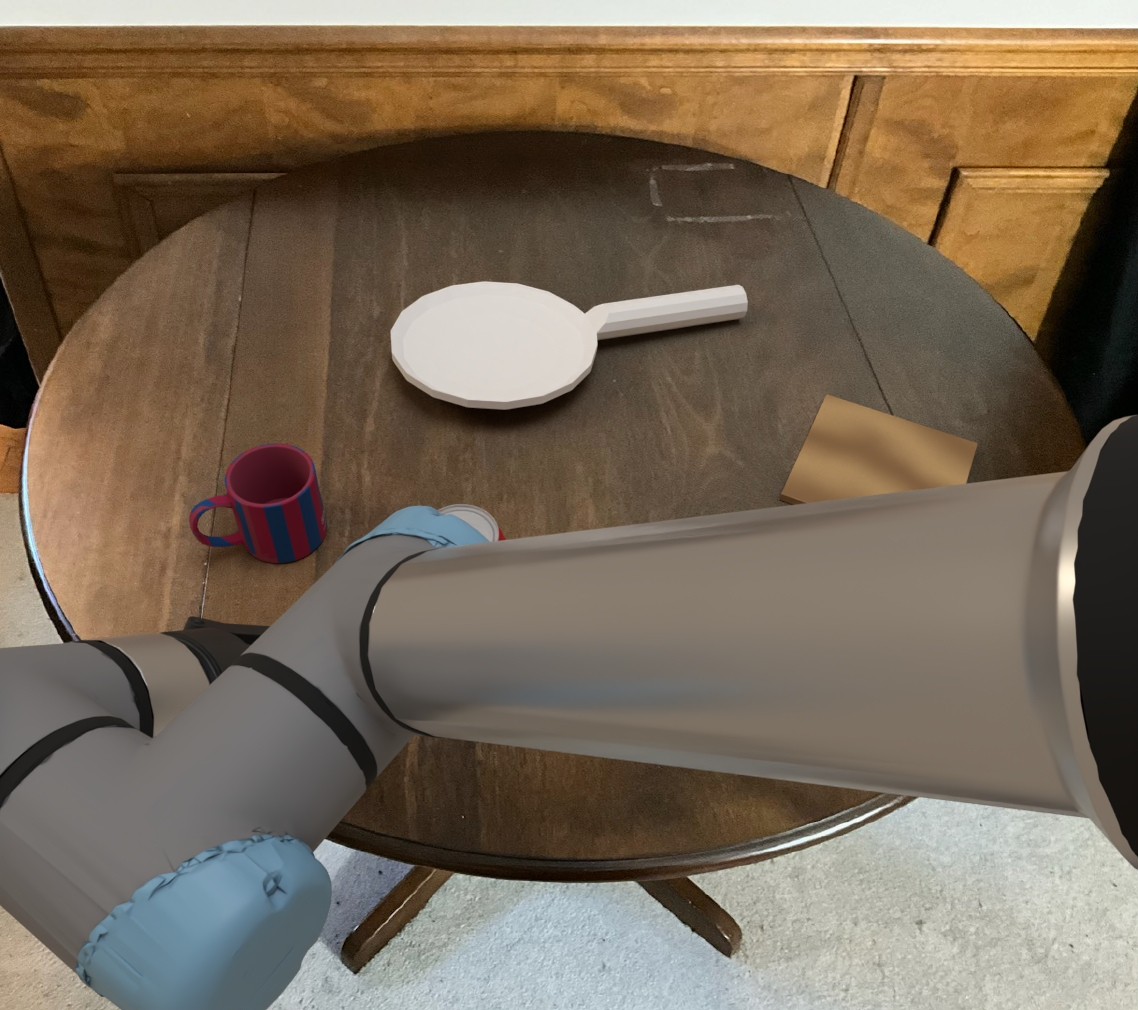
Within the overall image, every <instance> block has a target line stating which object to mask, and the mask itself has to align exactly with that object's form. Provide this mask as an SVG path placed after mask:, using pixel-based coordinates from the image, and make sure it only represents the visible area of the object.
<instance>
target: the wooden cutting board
mask: <svg viewBox="0 0 1138 1010" xmlns="http://www.w3.org/2000/svg"><path fill="white" fill-rule="evenodd" d="M978 445H979V443H978V442H975V441H972V440H969V439H966V438H963V437H960V436H957V435H954V434H951V433H947V432H945V431H941V430H939V429H935V428H932V427H928V426H926V425H924V424H920V423H917V422H914V421H911V420H908V419H905V418H901V417H899V416H895V415H892V414H889V413H886V412H883V411H880V410H877V409H875V408H871V407H867V406H864V405H862V404H858V403H855V402H853V401H849V400H846V399H843V398H840V397H837V396H833V395H831V394H827V393H826V394H825V396H824V398H823V400H822V402H821V405H820V407H819V409H818V412H817V413H816V416H815V418H814V420H813V423H812V424H811V426H810V429H809V431H808V434H807V436H806V438H805V440H804V442H803V444H802V447H801V449H800V451H799V454H798V456H797V457H796V460H795V461H794V464H793V466H792V469H791V470H790V473H789V475H788V478H787V480H786V481H785V484H784V486H783V488H782V491H781V493H780V496H779V500H780V501H783V502H785V503H788V504H789V505H796V504H805V503H813V502H821V501H829V500H837V499H845V498H854V497H862V496H870V495H878V494H886V493H895V492H903V491H911V490H919V489H927V488H935V487H944V486H952V485H960V484H968V479H969V475H970V472H971V469H972V465H973V462H974V458H975V456H976V452H977V449H978Z"/></svg>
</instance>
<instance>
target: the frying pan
mask: <svg viewBox="0 0 1138 1010" xmlns="http://www.w3.org/2000/svg"><path fill="white" fill-rule="evenodd" d="M748 304H749V302H748V297H747V292H746V290H745V289H744V287H743V286H741V285H740V284H735V285H734V284H733V285H727V286H720V287H719V286H718V287H712V288H705V289H698V290H691V291H690V290H689V291H684V292H677V293H670V294H669V293H668V294H662V295H656V296H655V295H654V296H648V297H641V298H634V299H625V300H620V301H613V302H606V303H601V304H598V305H594V306H593V307H591V308H590V309H589V310H587V312H585V313H584V312H583V311H582V310H581V309H580V308H578V307H577V306H576V305H575V304H572V303H570V302H569V301H567V300H566V299H564V298H561V297H560V296H557V295H556V294H554V293H552V292H550V291H548V290H545V289H540V288H536V287H534V286H533V287H532V286H529V285H525V284H521V283H516V282H500V281H486V280H485V281H476V282H469V283H461V284H452V285H449V286H446V287H444V288H441V289H438V290H435V291H433V292H430V293H427V294H424V295H422V296H421V297H419V298H418V299H416V300H415V301H414V302H412V303H411V304H410V305H408V306H406V308H404V309H403V310H402V311H401V312H400V313H399V315H398V318H396V321H395V322H394V324H393V326H392V328H391V329H390V344H391V345H390V346H391V347H390V348H391V360H392V362H393V363H394V365H395V366H396V368H397V369H398V370H399V372H400V373H401V374H402V376H403V378H404V379H405V380H406V381H407V382H408V383H410V384H411V385H413V386H415V387H416V388H417V389H419V390H421V391H422V392H424V393H425V394H427V395H428V396H430V397H432V398H434V399H438V400H440V401H441V400H442V401H444V402H448V403H452V404H455V405H457V406H458V405H459V406H462V407H465V408H471V409H472V408H474V409H489V410H511V409H517V408H523V407H530V406H536V405H542V404H544V403H547V402H549V401H552V400H554V399H556V398H558V397H560V396H562V395H564V394H566V393H569V392H571V391H573V390H574V389H575V388H576V387H577V385H579V384H580V383H581V382H582V381H583V380H584V379H585V378H586V377H587V376H588V375H589V374H590V373H591V372H592V368H593V365H594V361H595V360H596V359H595V358H596V355H597V351H598V341H601V340H609V339H614V338H621V337H622V338H623V337H627V336H636V335H641V334H647V333H655V332H660V331H661V332H662V331H667V330H668V331H669V330H674V329H675V330H676V329H682V328H687V327H694V326H695V327H696V326H700V325H708V324H713V323H722V322H727V321H728V322H729V321H733V320H734V321H735V320H741V319H744V318H746V315H747V313H748Z"/></svg>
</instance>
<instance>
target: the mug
mask: <svg viewBox="0 0 1138 1010" xmlns="http://www.w3.org/2000/svg"><path fill="white" fill-rule="evenodd" d="M224 486H225V489H226V494H222V495H217V496H211V497H209V498H206V499H204V500H202V501H199V502H198V503H197V504H195V505H194V506H193V508H192V509H191V511H190V513H189V517H188V521H189V528H190V531H191V533H192V535H193V536H194V537H195V539H196V540H197V541H198V542H199V543H201V545H203V546H206V547H211V548H228V547H233V546H234V547H236V546H240V545H243V547H244V548H245V549H246V551H247V552H248V553H249V554H250V555H251V556H252V557H254V558H255V559H257V560H260V561H262V562H266V563H270V564H288V563H292V562H295V561H299V560H302V559H304V558H306V557H308V556H309V555H310V554H312V553H313V552H314V551H315V550H317V549H318V548H319V547H320V546H321V544H322V543H323V541H324V539H325V538H326V535H327V531H328V524H327V518H326V513H325V509H324V503H323V500H322V495H321V490H320V485H319V481H318V475H317V471H316V466H315V463H314V461H313V458H312V457H311V456H310V455H309V453H307V452H306V451H305V450H304V449H301V448H300V447H298V446H295V445H292V444H288V443H279V442H278V443H276V442H275V443H266V444H261V445H257V446H254V447H252V448H250V449H247V450H245V451H244V452H242V453H240V454H239V455H238V456H236V457H235V458H234V459H233V461H232V462H231V463H230V464H229V465H228V467H227V469H226V471H225V475H224ZM216 508H226V509H231V510H232V513H233V516H234V520H235V522H236V526H237V531H236V532H234V533H231V534H227V535H223V536H214V535H213V536H211V535H207V534H204V533H202V532H201V531H200V530H199V527H198V524H199V520H200V518H201V517H202V515H203V514H205V513H206V512H208V511H210V510H213V509H216Z"/></svg>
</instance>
